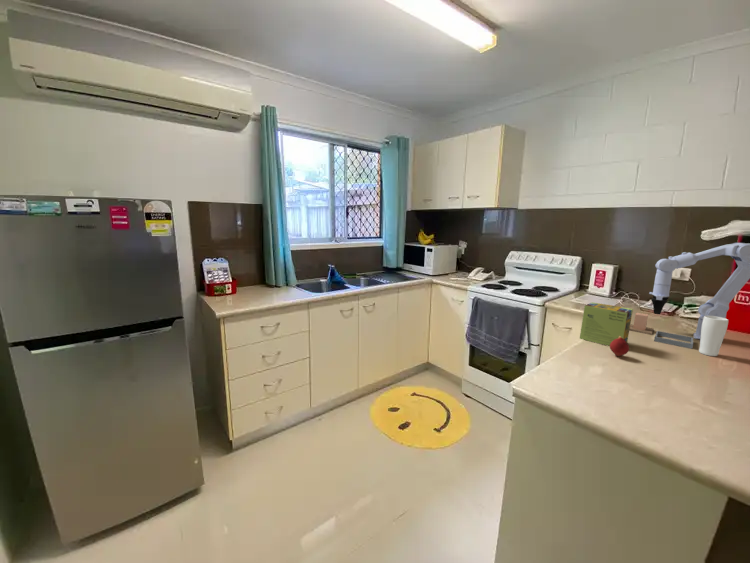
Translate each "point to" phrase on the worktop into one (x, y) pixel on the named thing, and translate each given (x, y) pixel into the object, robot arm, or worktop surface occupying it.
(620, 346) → the pomegranate
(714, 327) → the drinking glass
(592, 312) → the protein box
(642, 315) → the block
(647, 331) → the board
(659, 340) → the square frame
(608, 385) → the worktop surface
